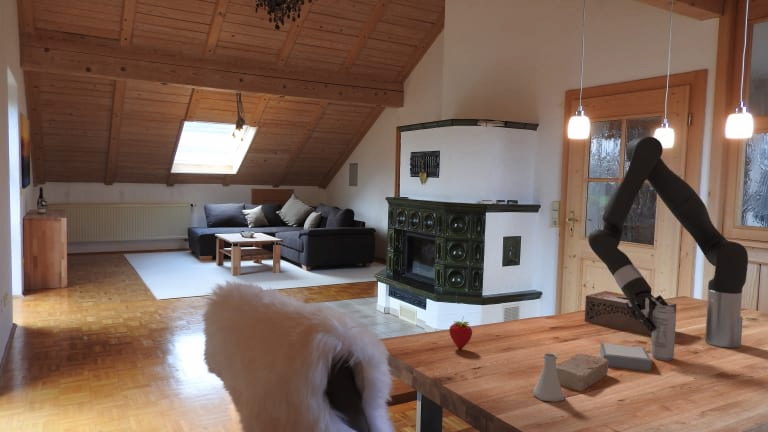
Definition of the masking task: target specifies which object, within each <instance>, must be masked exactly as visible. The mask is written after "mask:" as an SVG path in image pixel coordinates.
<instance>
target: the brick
mask: <svg viewBox="0 0 768 432" xmlns="http://www.w3.org/2000/svg"><path fill="white" fill-rule="evenodd" d="M608 364H609V361H608V360H607V359H605V358H602V357H601V356H595V355H592V354H590V355H589V354H586V353H585V354H584V353H580V352H578V353H575V354H574V355H573V356H571V357H570V358H569V359H566V360H564V361H561V362H559V363H557V364H556V371H557V375H558V379H559V382H560V386H561V387H565V388H569V389H572V390H575V391H579V392H581V391H584V390H586V389H588V387H590V386H592V385H593V384H595V383H596V382H598V381H600V380H602V379H603V378H604V377H605V376H606V375H607V374H608V372H609V371H608V370H609V366H608Z"/></svg>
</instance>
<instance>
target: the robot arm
mask: <svg viewBox="0 0 768 432" xmlns="http://www.w3.org/2000/svg"><path fill="white" fill-rule="evenodd" d="M663 150H664V148H663V145H662V143H661V141H660V139H658V138H656V137H653V136H641V137H637V138H634V139H632V140H631V141H629V142H628V144H627V145H626V148H625V156H626V159H627V160H628V162H629V166H628V168H627V171H626V173H625V175H624V177H623V178H622V180H621V182H620V183H619V184H618V186H617V188H616V189H615V190H614V192H613V193H612V195H611V197H610V199H609V200H608V203H607V204H606V208H605V210H604V212H603V214H602V221H603V223H604V225H603V229H599V228H598V229H595V230H592V231H591V232H590V234H589V235H588V237H587V238H588V245H589V246H590V249H591V250H592V252H593V253H594V254H595V255H596V256H597V257H598V259H599V260H601V261H602V263H603V264H605V266H606V268H607V269H608V271H609V272H610V274H611V275H612V277H613V278H614V280H615V282H616V284H617V286H618V287H619V289H620V290H621V292H622V294H625V296H626V297H627V299H628V300H629V301H628V302H626V305H627V307H628V309H629V310H630V312H631V314H632V315H633V317H634V318H635V319H636V320H638V319H639V320H641V321H643V322H644V324H645V325H646V327H647V328H648V330H649V331H650V332H653V331H655V330H656V329H657V327H656V326H655V324H654V323H653V321H652V320H651V318H650V317H649V315H648V312H650V313H653V311H654V309H655V308H656V307H655V306H658V305H662V306H669V305H668V304H667V303H666V302H667V301H666V300H665V299H664V298H663V296H662V295H658V296H654V295H652V290H653V289H652V287H651V286H650V284H649V283H648V281H647V279H645V277H644V276H643V274H642V273H641V272H640V270H638V268H637V267H636V266H635V265H634V263H633V261H632V260H631V259H630V258H629V256H628V255H627V254H626V253H625V252H624V251H622V250H620V249H619V245H620V243H621V239H622V237H623V236H622V235H623V232H624V231H623V230H624V225H625V224H626V221H627V219H628V216H629V214H630V213H631V210H632V208H633V206H634V203H635V201H636V199H637V197H638V195H639V193H640V191H641V189H642V187H643V185H644V184H645V182H646V181H648V182H649V184H650V185H651V187H652V188H653V189H654V191H655V193H656V195H658V197H659V199H660V200H662V202H663V204H664V205H665V206H666V207H667V209H668V210H669V211H670V212H671V214H672V215H673V216H674V217H675V218H676V220H677V221H678V222H679V223H680V224H681V225H682V227H683V228H684V229H685V231H687V233H689V235H690V236H691V237H692V239H693V240H694V241H695V243H696V244H697V246H698V248H699V249H700V250H701V252H702V254H703V256H704V257H705V259H706V260H707V262H708V263H710V265H712V266H714V270H715V271H714V276H713V277H712V279H710V280H709V281H708V284H707V300H706V301H707V302H706V315H705V316H706V318H705V332H704V337H705V338H704V342H705V343H706V344H708V345H712V346H716V347H721V348H729V349H730V348H731V349H732V348H742V337H743V333H742V332H743V317H742V316H741V314H742V302H743V301H742V300H743V299H742V298H743V288H744V286H745V284H746V282H747V274H748V265H749V254H748V250H747V249H746V247H745V246H744V245H743V244H741V243H739V242H736V241H731V240H729V239H727V238H725V237H724V235H722V233H720V232H719V230H718V229H717V228H716V227H715V225H714V224H713V222H712V220H711V217H710V214H709V211H708V208H707V205H706V204H705V203H704V201H703V200H702V198H701V197H700V195H698V193H697V192H696V191H695V189H693V187H692V186H691V185H690V184H689V183H688V182H686V181H685V180H684V178H683V179H682V178H681V177H680V176H679V175H678V174H676V173H675V172H674V171H672V170H671V169H670V168H669V167H668V165H667V164H666V163H665V161H664V160H663V159H662V155H663ZM635 311H637V313H638V314H636V313H635Z"/></svg>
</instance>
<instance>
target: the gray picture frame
mask: <svg viewBox="0 0 768 432" xmlns="http://www.w3.org/2000/svg"><path fill="white" fill-rule="evenodd" d="M599 353H600V357H602V358H605V359H607V360H608V361H609V364H608V368H619V369H626V370H627V369H628V370H635V371H636V370H637V371H643V372H652V359H651V357H650V355H649V352H647V349H646V347H641V346H630V345H623V344H622V345H621V344H614V343H613V344H612V343H603V342H600V347H599Z"/></svg>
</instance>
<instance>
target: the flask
mask: <svg viewBox="0 0 768 432" xmlns="http://www.w3.org/2000/svg"><path fill="white" fill-rule="evenodd" d="M542 355H543V358H544V361H543V362H544V363H543V366H542V370H541V372H540V375H539V377H538V379H537V382H536V384H535V386H534V388H533V396H534V397H536V398H537V399H539V400H541V401H545V402H555V403H556V402H561V401H565V396H564V392H563V390H562V385H560V382H559V379H558V375H557V371H556V365H557V359H558V355H557V354H555V353H550V352H549V353H548V352H546V353H543V354H542Z"/></svg>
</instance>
